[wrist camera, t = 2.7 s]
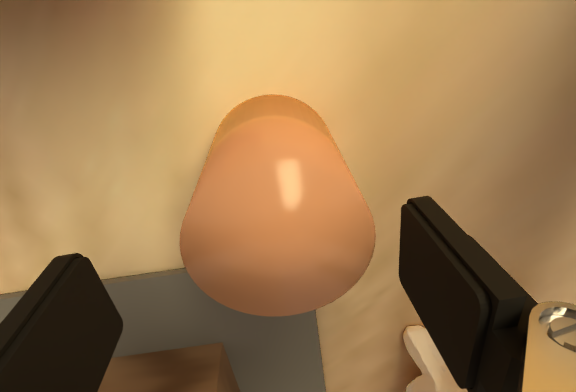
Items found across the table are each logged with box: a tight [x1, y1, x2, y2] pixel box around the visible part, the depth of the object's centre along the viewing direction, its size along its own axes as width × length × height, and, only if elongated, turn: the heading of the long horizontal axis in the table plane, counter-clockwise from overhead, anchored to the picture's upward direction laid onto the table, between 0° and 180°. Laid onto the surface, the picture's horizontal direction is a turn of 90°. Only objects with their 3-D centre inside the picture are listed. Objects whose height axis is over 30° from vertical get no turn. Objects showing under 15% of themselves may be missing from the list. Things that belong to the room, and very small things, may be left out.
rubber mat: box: [0, 268, 326, 392], centre depth 24 cm, size 20×20×1 cm
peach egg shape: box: [180, 95, 376, 316], centre depth 13 cm, size 6×6×7 cm
